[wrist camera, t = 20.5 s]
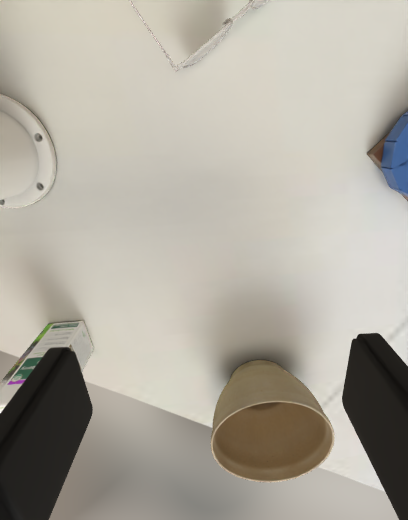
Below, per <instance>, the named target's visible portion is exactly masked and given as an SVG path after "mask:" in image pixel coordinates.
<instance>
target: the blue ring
mask: <svg viewBox="0 0 408 520" xmlns="http://www.w3.org/2000/svg"><path fill="white" fill-rule="evenodd" d="M385 141H386V142H385V143H384V149H383V156H382V163H381V166H382V167H381V169H382V171H383V173H384V176H385V178H386V180H387V182H388V185H389V187H390V188H392V189H394V190H396V191H397V192H399V193H401V194H403V195H405V196H407V197H408V112H406V113H405V114H403V115H402V116H401V117H400V119H399V120H398V122H397V123H396V125H395V126H394V128H393V129H392V131H391V132H390V134H389V135H388V137H387V138H386V140H385Z"/></svg>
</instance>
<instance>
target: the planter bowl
mask: <svg viewBox="0 0 408 520" xmlns="http://www.w3.org/2000/svg"><path fill="white" fill-rule="evenodd" d="M333 444H334V431H333V428H332V425H331V423H330V421H329V419H328V418H327V416H326V415H325V414H324V412H323V410H322V408H321V406H320V405H319V403H318V401H317V400H316V398H315V397H314V396H313V394H312V393H311V392H310V391H309V389H308V388H307V387H306V386H305V385H304V384H303V383H302V382H301V381H299V380H298V379H297V378H296V377H294V376H293V375H292V374H290V373H288V372H287V371H285V370H284V369H283V368H282V367H281V366H279V365H278V364H276V363H274V362H271V361H267V360H255V361H250V362H247V363H245V364H243V365H241V366H240V367H238V368H237V369H236V370H235V371H234V372H233V374H232V376H231V378H230V381H229V382H228V383H227V385H226V386H225V388H224V389H223V391H222V393H221V395H220V397H219V400H218V402H217V405H216V409H215V413H214V419H213V431H212V435H211V450H212V454H213V456H214V458H215V460H216V461H217V463H218V464H219V465H220V466H221V467H222V468H223V469H224V470H226V471H227V472H229V473H230V474H233V475H235V476H237V477H239V478H242V479H247V480H251V481H257V482H278V481H279V482H280V481H285V480H290V479H294V478H297V477H299V476H302V475H304V474H307V473H309V472H311V471H312V470H313V469H315V468H317V467H318V466H319V465H321V464H322V463H323V462H324V461H325V459H326V458H327V457H328V455H329V454H330V452H331V450H332V447H333Z"/></svg>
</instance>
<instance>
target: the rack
mask: <svg viewBox="0 0 408 520" xmlns="http://www.w3.org/2000/svg"><path fill="white" fill-rule="evenodd" d="M391 131H392V130H391ZM391 131H390V132H391ZM390 132H389V133H388V134H387V135H386V136H385V137H384V138H383V139H382V140H381V141H380V142H379V143H378V144H377V145H375V146H374V147H373V148H372V149H371V150H370V151H369V152H368V153H367V155H368V156H369V157H370V158H371V159H372V161H373V162H374V163H375V164H376V165H377V166H378V167H379V169H380V170H381V171H382V169H381V167H382V166H381V163H382V156H383V149H384V143H385V142H386V141H385V140H386V138H387V137H388V135H389V134H390ZM382 172H383V171H382ZM402 195H403V194H402ZM403 196H404V197H405V199H406V200H407V201H408V197H407V196H405V195H403Z"/></svg>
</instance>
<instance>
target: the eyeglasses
mask: <svg viewBox="0 0 408 520" xmlns="http://www.w3.org/2000/svg"><path fill="white" fill-rule="evenodd" d="M129 1H130V3H131V4H132V6H133V7H134V9H135V10H136V12H137V14H138V15H139V17H140V18H141V20H142V21H143V23H144V24H145V25H146V27H147V28H148V30H149V31H150V33H151V34H152V36H153V37H154V38H155V36H154V35H153V33H152V32H151V30H150V29H149V27H148V26H147V24H146V23H145V22H144V20H143V19H142V17H141V16H140V14H139V12H138V11H137V9H136V8H135V6H134V5H133V3H132V2H131V0H129ZM267 1H268V0H254V1H253V0H249V3H248V4H247V5H246V6H245V7H244V8H243V9H241V10H240V11H239V12H238V13H237V14H236V15H235V16H234V17H233V18H229V19H227V20H225V21H224V22H223V24H226V25H225V26H224V27H223V28H222V29H221V30H219V31H218V32H217V33H216V34H215V35H214V36H213V37H212V38H211V39H210V40H208V41H207V42H206V43H205V44H204V45H203V46H201V47H200V48H199V49H198V50H197V51H195V52H194V53H193V54H192V55H191V56H189V57H188V58H187V59H186V60H185V61H184V62H183V63H182V62H181V63H180V64H178V65H177V66H175V64H174V63H173V61H172V60H171V58H170V56H169V55H168V54H167V53H166V52H165V51H164V49H163V48H162V46H161V45H160V43H159V42H158V40H157V39H156V38H155V40H156V41H157V43H158V44H159V46H160V47H161V49H162V50H163V51H164V53H165V54H166V58H167V59H168V61H169V62H170V64H171V65H172V67H173V69H174V70H175V72H176V71H178V70H179V69H180V68H186V67H189V66H191V65H193V64H195V63H196V62H197V61H199V60H200V59H201V58H203V57H204V56H205V55H206V54H208V53H209V52H210V51H211V50H212V49H213V48H214V47H215V46H216V45H217V44H218V43H219V42H220V41H221V40H222V39H223V38H224V37H225V35H226V34H227V33H228V31H229V30H230V28H231V27H232V25H233V21H235V20H236V19H238V18H240V17H242V16H243V15H245V13H246V12H247V11H248V9H249V8H250V7H251V8H252V9H257V8H259V7H261V6H262V5H263V4H265V3H266V2H267Z"/></svg>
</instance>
